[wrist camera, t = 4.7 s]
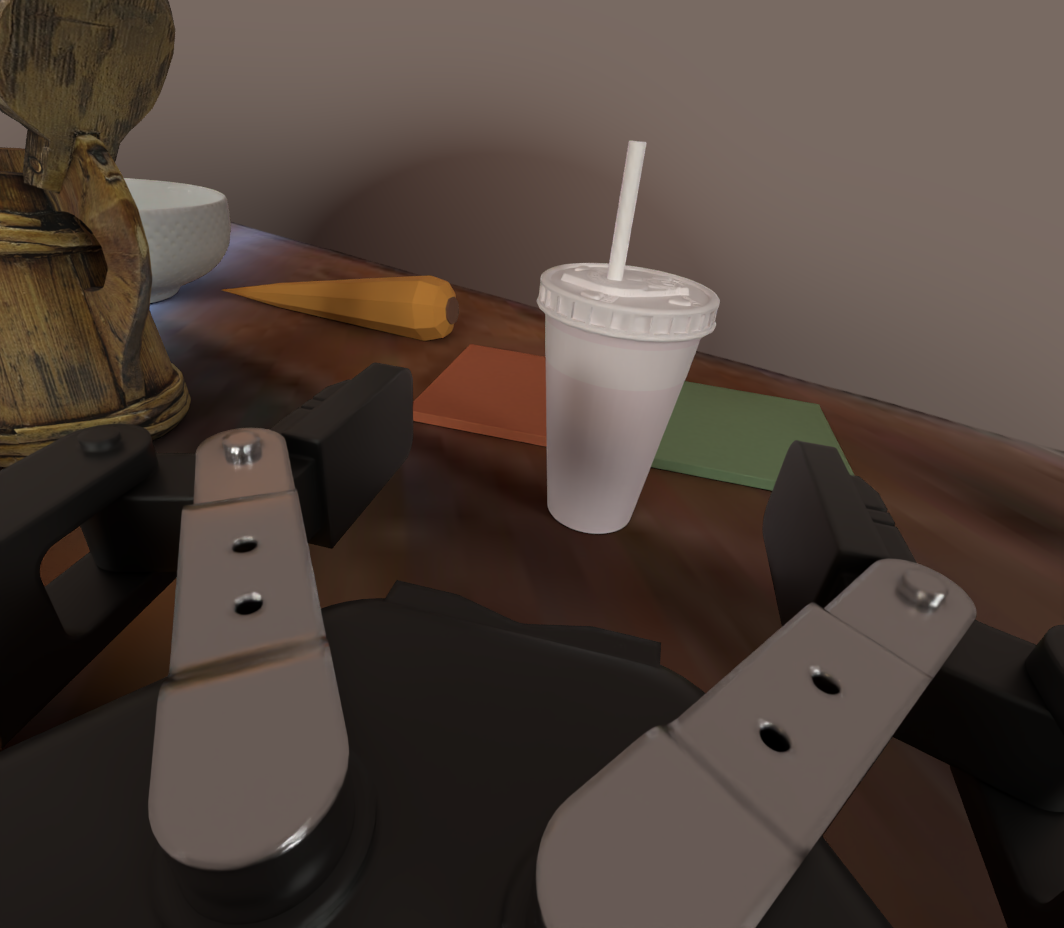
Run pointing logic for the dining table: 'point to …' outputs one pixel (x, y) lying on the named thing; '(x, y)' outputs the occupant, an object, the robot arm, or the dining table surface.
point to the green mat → (738, 434)
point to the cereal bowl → (181, 231)
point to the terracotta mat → (489, 395)
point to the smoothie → (614, 371)
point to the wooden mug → (78, 224)
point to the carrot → (370, 303)
